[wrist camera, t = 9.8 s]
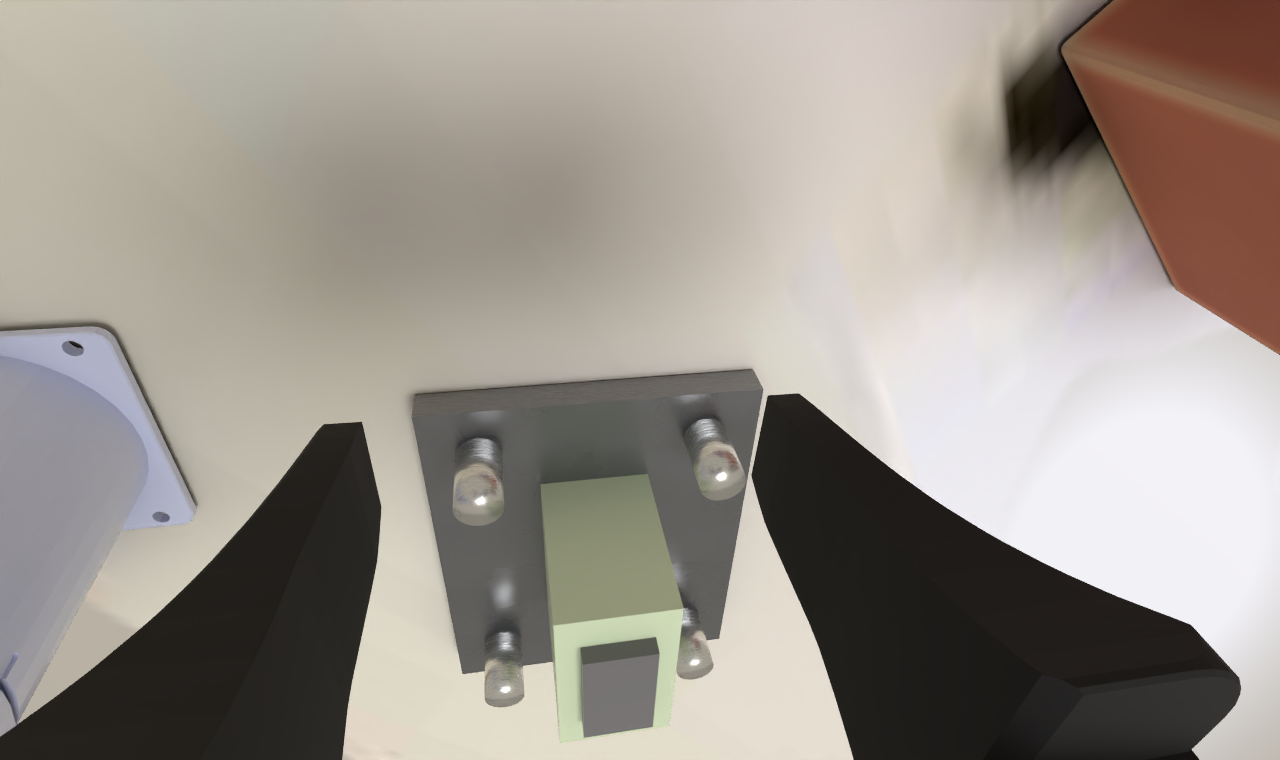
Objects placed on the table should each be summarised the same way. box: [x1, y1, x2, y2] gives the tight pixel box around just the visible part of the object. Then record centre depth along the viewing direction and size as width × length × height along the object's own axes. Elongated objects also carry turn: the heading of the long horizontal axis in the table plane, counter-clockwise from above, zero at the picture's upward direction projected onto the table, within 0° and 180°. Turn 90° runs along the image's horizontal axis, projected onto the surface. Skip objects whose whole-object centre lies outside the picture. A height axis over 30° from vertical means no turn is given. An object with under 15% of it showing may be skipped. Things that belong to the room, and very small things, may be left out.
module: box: [540, 474, 684, 743], centre depth 26 cm, size 4×7×7 cm, turn 177°
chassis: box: [412, 370, 763, 707], centre depth 28 cm, size 12×15×4 cm
